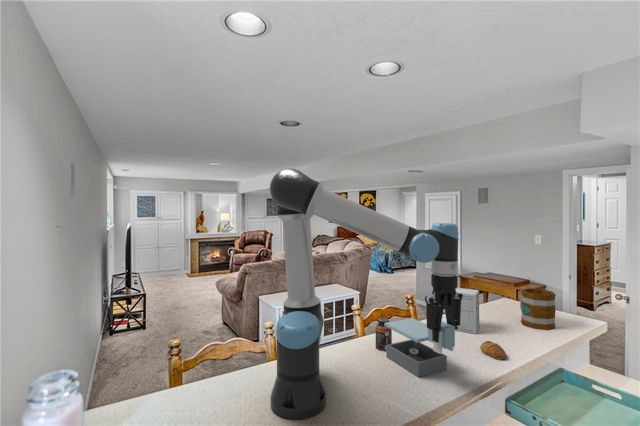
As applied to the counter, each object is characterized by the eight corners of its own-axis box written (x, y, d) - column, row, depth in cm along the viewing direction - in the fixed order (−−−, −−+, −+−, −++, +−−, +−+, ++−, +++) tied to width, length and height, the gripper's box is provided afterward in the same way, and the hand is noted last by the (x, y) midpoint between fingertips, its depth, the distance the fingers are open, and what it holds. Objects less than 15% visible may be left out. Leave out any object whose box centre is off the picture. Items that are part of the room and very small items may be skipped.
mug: (563, 330, 147) (563, 295, 147) (531, 330, 147) (531, 295, 147) (535, 315, 167) (535, 285, 166) (507, 315, 167) (507, 285, 167)
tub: (418, 379, 106) (418, 363, 106) (386, 359, 120) (386, 344, 120) (446, 371, 111) (446, 355, 111) (413, 352, 126) (413, 338, 126)
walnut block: (418, 373, 109) (418, 363, 109) (407, 368, 112) (407, 359, 112) (425, 369, 111) (425, 360, 111) (415, 365, 114) (415, 356, 114)
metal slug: (413, 360, 118) (413, 351, 118) (406, 356, 121) (406, 348, 121) (421, 358, 119) (421, 349, 119) (414, 354, 122) (414, 346, 122)
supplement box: (480, 328, 150) (480, 289, 150) (476, 334, 143) (477, 294, 142) (457, 324, 156) (457, 287, 155) (452, 330, 148) (452, 291, 147)
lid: (433, 351, 99) (434, 330, 99) (384, 325, 120) (384, 308, 120) (464, 344, 105) (465, 324, 105) (412, 320, 126) (412, 304, 126)
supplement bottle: (391, 353, 125) (391, 322, 125) (375, 352, 126) (375, 321, 126) (391, 347, 131) (391, 317, 131) (375, 345, 132) (375, 316, 132)
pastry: (512, 360, 119) (512, 349, 119) (494, 362, 118) (494, 351, 118) (493, 349, 128) (493, 339, 128) (477, 351, 127) (477, 340, 127)
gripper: (432, 278, 97) (431, 361, 97) (474, 274, 104) (473, 350, 105) (414, 274, 103) (413, 351, 104) (454, 269, 111) (453, 341, 111)
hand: (443, 350), depth 104 cm, fingers closed on lid, 4 cm apart
